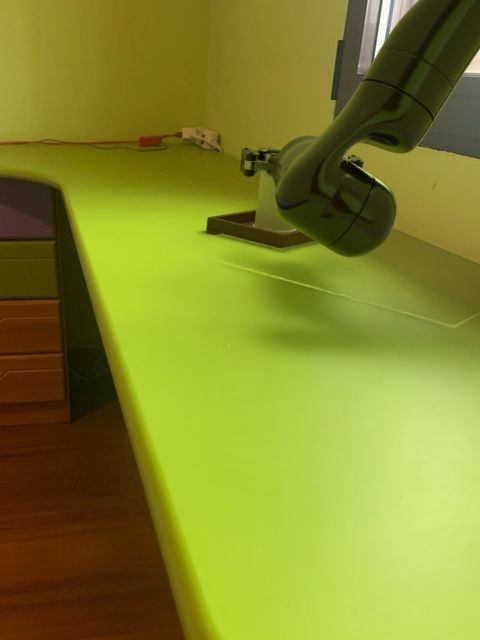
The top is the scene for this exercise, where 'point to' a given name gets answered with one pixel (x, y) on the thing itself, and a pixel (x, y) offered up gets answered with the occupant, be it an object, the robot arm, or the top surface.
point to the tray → (252, 230)
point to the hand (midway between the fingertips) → (293, 157)
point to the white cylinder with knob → (269, 208)
